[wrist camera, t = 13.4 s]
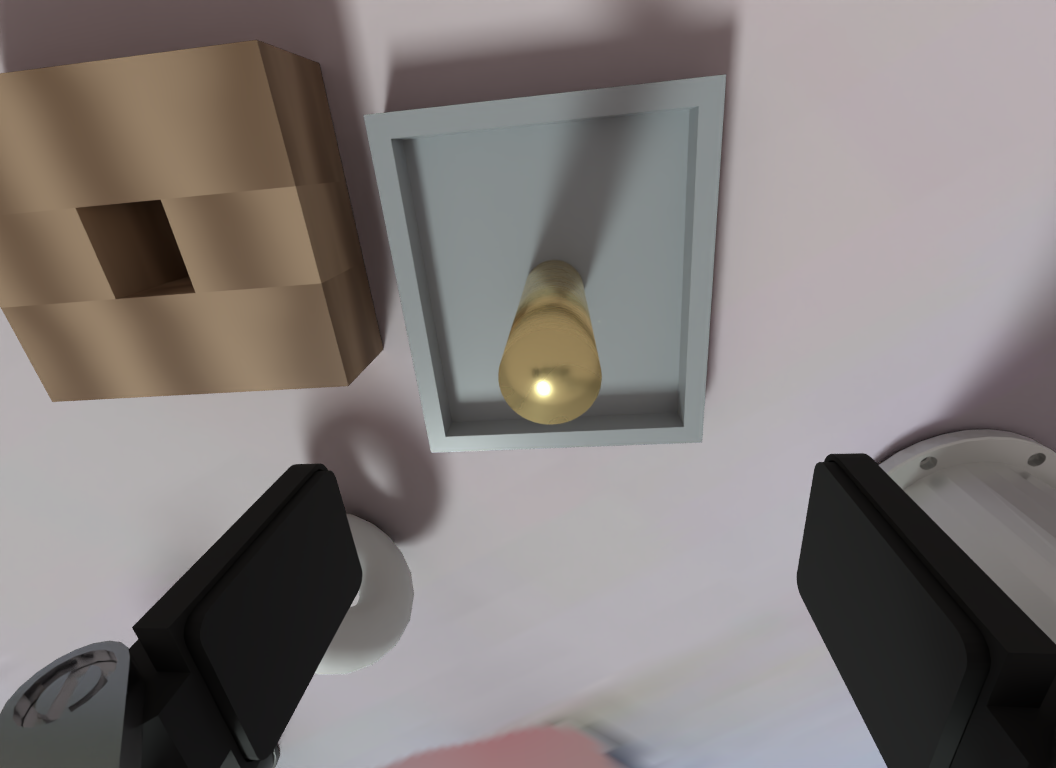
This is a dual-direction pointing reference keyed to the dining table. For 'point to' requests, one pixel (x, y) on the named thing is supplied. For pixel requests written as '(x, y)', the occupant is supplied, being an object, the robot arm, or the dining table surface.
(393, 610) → the donut
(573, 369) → the pin
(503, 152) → the tray
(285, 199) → the pin block
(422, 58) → the dining table surface
